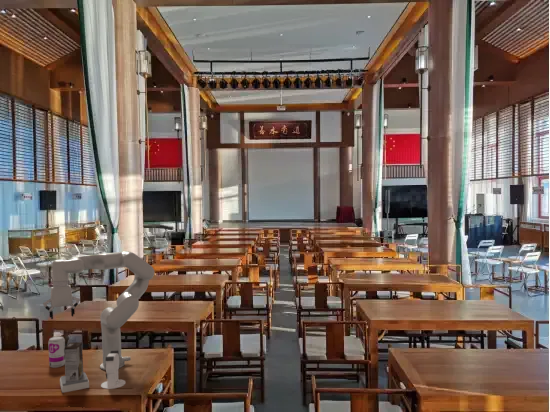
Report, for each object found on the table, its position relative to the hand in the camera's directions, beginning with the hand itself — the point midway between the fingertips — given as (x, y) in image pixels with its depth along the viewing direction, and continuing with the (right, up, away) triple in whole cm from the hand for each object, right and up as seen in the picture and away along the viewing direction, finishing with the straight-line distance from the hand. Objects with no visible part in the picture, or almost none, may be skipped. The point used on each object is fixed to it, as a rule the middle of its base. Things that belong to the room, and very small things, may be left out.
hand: (62, 317), depth 257 cm
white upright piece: (+30, -30, -12) cm, 44 cm away
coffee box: (+12, -27, -13) cm, 32 cm away
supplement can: (-10, -30, +18) cm, 37 cm away
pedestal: (+12, -30, -13) cm, 35 cm away
